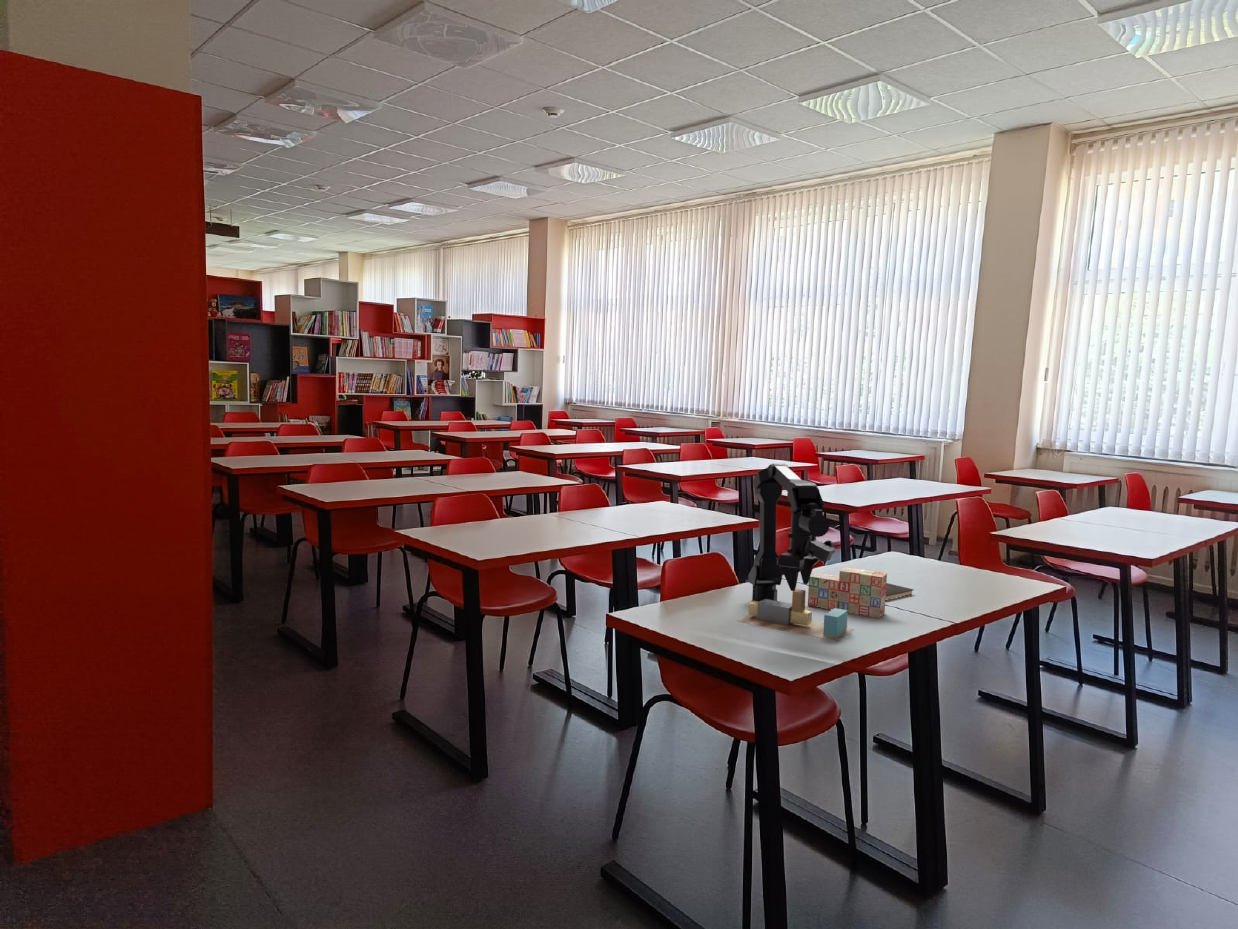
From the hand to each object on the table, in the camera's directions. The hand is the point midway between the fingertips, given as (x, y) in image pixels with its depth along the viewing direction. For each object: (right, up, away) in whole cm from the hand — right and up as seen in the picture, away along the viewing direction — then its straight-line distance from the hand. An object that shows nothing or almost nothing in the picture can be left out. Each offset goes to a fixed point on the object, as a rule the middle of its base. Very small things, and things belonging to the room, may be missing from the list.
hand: (799, 587), depth 203 cm
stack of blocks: (+19, -10, +21) cm, 30 cm away
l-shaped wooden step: (-5, -9, +4) cm, 11 cm away
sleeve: (-5, -10, +4) cm, 12 cm away
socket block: (+8, -11, -5) cm, 15 cm away
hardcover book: (+33, -9, +46) cm, 57 cm away
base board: (-1, -11, +1) cm, 11 cm away
